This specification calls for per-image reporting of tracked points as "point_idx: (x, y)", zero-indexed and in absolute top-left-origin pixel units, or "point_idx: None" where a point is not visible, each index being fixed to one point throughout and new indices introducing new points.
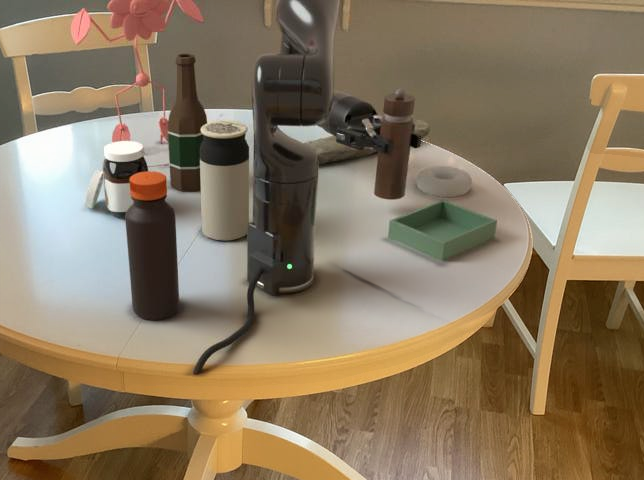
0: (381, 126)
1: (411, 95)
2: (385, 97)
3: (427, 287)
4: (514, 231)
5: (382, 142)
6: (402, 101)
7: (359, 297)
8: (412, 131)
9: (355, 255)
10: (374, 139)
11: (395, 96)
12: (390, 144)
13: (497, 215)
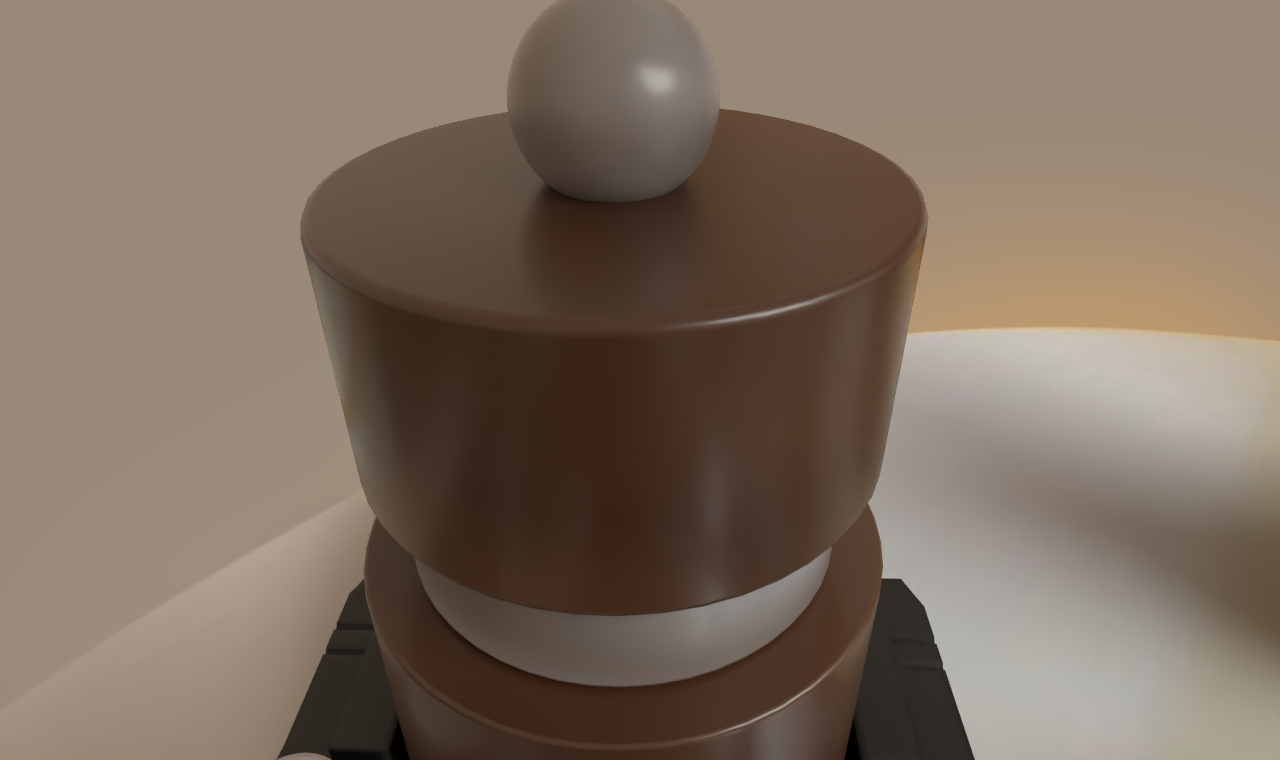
0: (864, 659)
1: (339, 171)
2: (898, 239)
3: (900, 435)
4: (286, 553)
5: (897, 631)
6: (723, 113)
7: (1164, 475)
8: (365, 650)
9: (1100, 709)
10: (958, 756)
11: (648, 212)
12: None
13: (142, 694)
